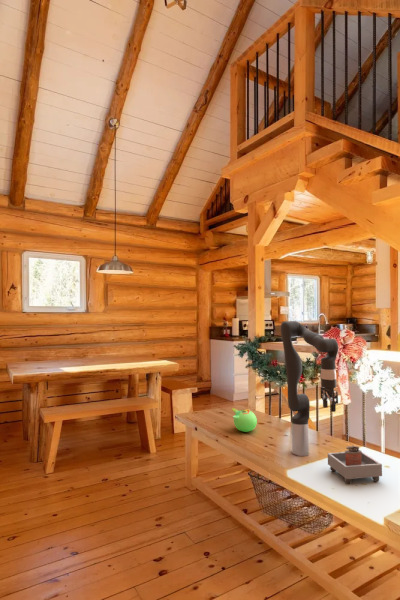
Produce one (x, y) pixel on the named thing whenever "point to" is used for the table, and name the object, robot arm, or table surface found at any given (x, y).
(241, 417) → the green apple
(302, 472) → the table surface
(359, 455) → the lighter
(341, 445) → the table surface
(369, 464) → the cart
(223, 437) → the table surface
